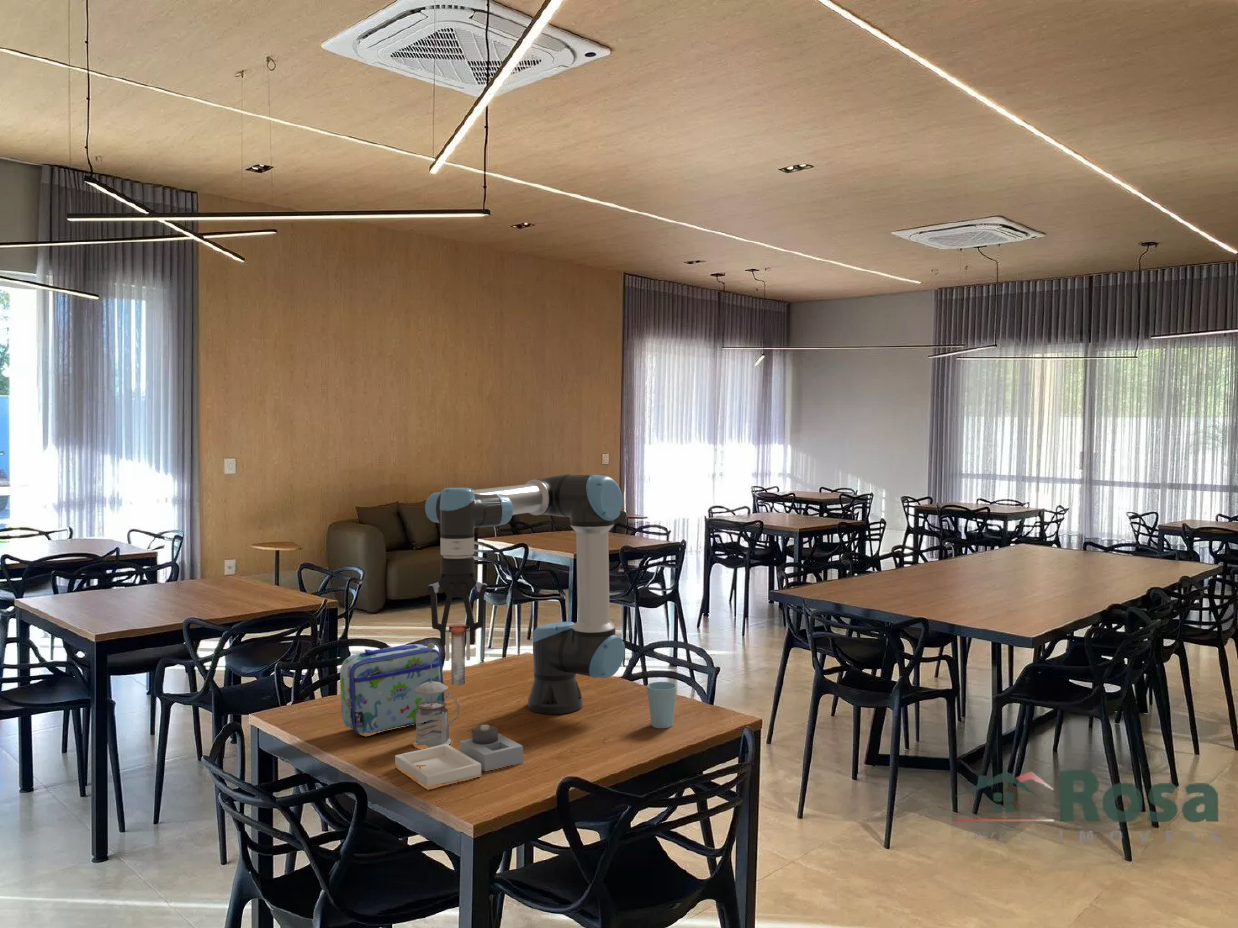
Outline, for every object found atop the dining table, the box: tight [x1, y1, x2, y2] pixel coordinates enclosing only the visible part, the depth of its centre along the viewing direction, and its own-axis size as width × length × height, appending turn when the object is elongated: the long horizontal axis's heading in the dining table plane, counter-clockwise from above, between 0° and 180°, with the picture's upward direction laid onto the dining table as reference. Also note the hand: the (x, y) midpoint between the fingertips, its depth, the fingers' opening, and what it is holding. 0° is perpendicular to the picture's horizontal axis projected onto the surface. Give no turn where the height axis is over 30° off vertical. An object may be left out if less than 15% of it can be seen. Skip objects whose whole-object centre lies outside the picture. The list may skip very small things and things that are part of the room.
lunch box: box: [339, 643, 446, 735], centre depth 250 cm, size 26×11×21 cm, turn 126°
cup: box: [646, 681, 678, 729], centre depth 250 cm, size 8×8×10 cm
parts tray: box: [394, 744, 482, 787], centre depth 217 cm, size 17×13×3 cm
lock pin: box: [448, 623, 468, 686], centre depth 217 cm, size 4×4×13 cm
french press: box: [415, 642, 460, 747], centre depth 236 cm, size 10×12×25 cm
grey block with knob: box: [459, 724, 524, 771], centre depth 224 cm, size 12×10×7 cm
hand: (457, 659), depth 218 cm, fingers closed on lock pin, 4 cm apart
